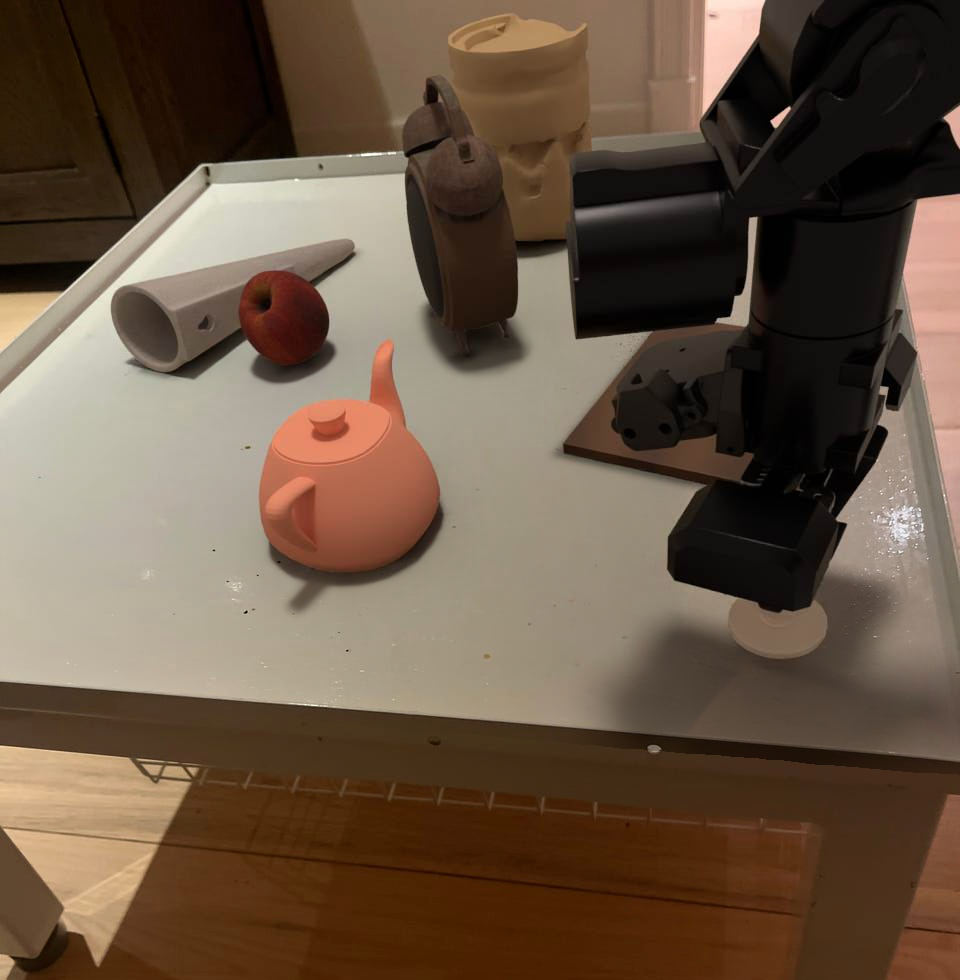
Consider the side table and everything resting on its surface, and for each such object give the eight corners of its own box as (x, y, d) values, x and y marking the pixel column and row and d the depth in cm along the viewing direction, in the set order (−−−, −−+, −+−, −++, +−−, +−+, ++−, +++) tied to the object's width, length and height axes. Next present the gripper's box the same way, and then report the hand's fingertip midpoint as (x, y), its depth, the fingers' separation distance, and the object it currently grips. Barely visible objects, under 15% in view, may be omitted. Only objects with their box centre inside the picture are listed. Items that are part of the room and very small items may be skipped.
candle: (720, 651, 52) (733, 497, 44) (735, 586, 55) (749, 433, 48) (821, 667, 50) (852, 510, 43) (830, 599, 54) (861, 443, 46)
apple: (236, 367, 86) (207, 281, 80) (299, 329, 90) (276, 244, 84) (290, 389, 82) (264, 300, 76) (354, 348, 86) (334, 260, 80)
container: (523, 198, 105) (507, 6, 92) (618, 218, 98) (615, 14, 85) (446, 244, 99) (418, 45, 86) (542, 268, 92) (527, 58, 79)
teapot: (224, 587, 65) (175, 472, 58) (344, 436, 76) (315, 325, 69) (384, 619, 61) (352, 498, 54) (486, 454, 72) (470, 338, 65)
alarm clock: (413, 305, 90) (370, 67, 76) (487, 287, 91) (458, 48, 77) (450, 379, 80) (409, 120, 66) (533, 358, 81) (510, 98, 67)
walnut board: (831, 348, 76) (833, 339, 76) (749, 493, 65) (750, 483, 64) (665, 323, 82) (665, 314, 82) (563, 452, 71) (562, 443, 70)
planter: (288, 199, 101) (98, 280, 84) (354, 205, 97) (169, 291, 80) (302, 274, 105) (125, 364, 89) (365, 282, 102) (194, 379, 85)
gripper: (711, 197, 48) (698, 455, 59) (544, 389, 38) (567, 660, 49) (949, 217, 43) (887, 494, 55) (835, 443, 33) (787, 730, 44)
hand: (782, 584), depth 51 cm, fingers closed on candle, 4 cm apart
